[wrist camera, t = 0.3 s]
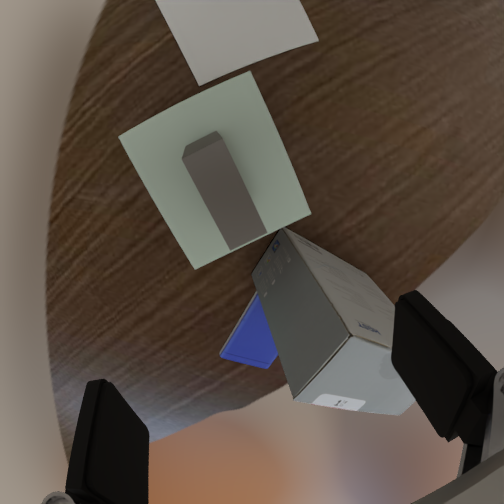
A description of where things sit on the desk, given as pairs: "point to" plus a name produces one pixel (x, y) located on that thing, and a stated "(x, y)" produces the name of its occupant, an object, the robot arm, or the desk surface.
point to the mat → (234, 32)
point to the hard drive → (251, 338)
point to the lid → (217, 170)
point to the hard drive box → (329, 328)
